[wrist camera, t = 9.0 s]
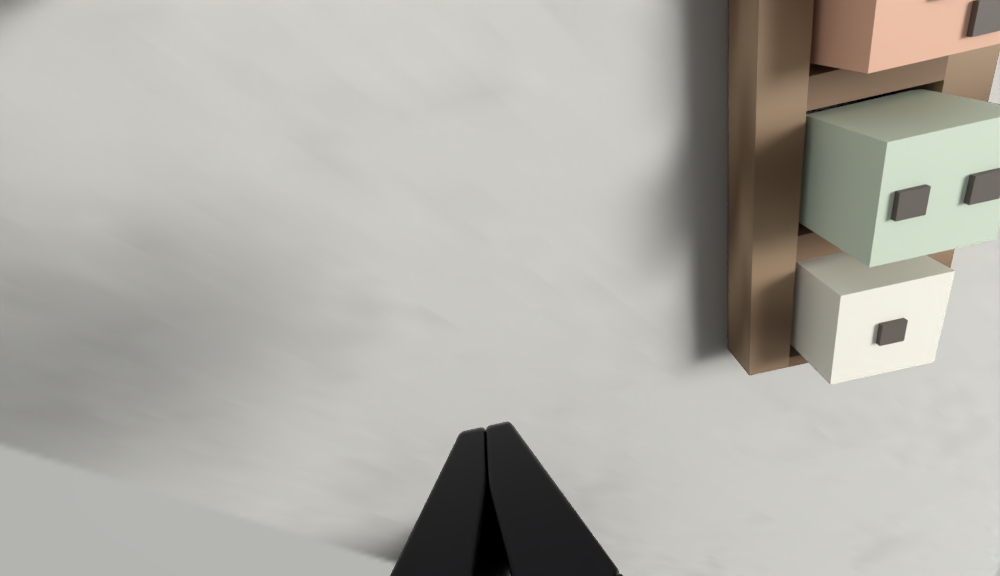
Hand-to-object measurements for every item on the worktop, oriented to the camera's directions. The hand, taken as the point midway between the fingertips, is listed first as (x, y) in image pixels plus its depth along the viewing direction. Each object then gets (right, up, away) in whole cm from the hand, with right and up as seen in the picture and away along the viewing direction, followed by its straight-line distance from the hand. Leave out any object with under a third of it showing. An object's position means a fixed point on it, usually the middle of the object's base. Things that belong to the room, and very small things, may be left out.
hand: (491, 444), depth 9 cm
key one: (+14, +3, +14) cm, 20 cm away
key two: (+13, +7, +11) cm, 18 cm away
